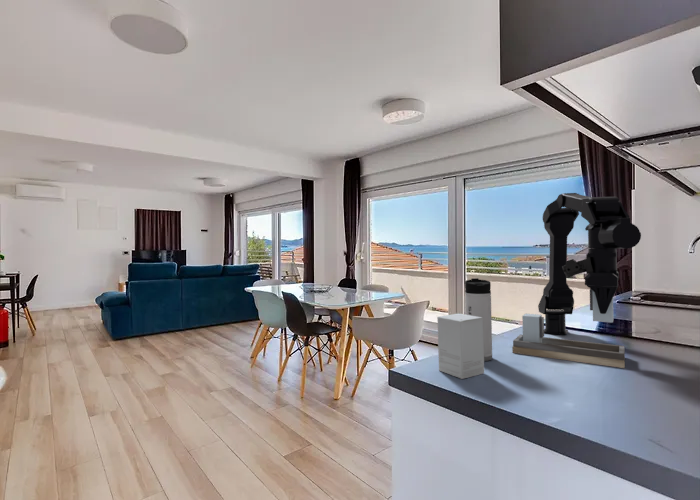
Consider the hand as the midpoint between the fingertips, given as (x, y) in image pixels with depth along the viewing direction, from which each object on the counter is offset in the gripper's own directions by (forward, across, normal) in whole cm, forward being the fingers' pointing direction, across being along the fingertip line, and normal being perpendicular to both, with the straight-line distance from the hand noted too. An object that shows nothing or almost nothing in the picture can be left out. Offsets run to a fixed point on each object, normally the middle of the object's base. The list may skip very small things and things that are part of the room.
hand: (603, 312), depth 92 cm
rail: (+12, 0, -8) cm, 14 cm away
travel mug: (+12, +14, -26) cm, 32 cm away
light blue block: (+2, 0, 0) cm, 2 cm away
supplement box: (+12, +27, -26) cm, 39 cm away
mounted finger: (+10, 0, -16) cm, 19 cm away
